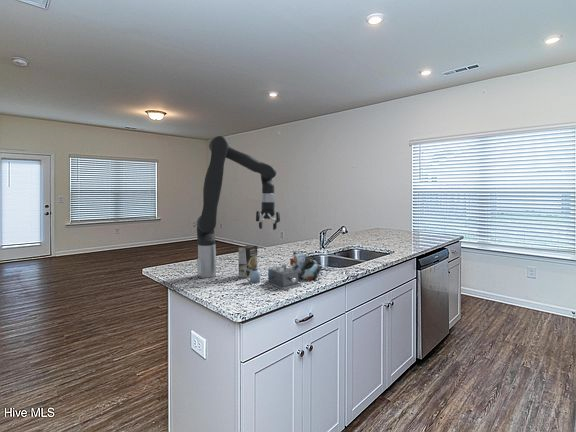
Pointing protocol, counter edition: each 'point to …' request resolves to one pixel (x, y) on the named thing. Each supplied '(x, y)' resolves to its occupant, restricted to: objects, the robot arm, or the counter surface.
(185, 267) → the counter surface
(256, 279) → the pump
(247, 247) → the coffee box
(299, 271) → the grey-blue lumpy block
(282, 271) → the motor
